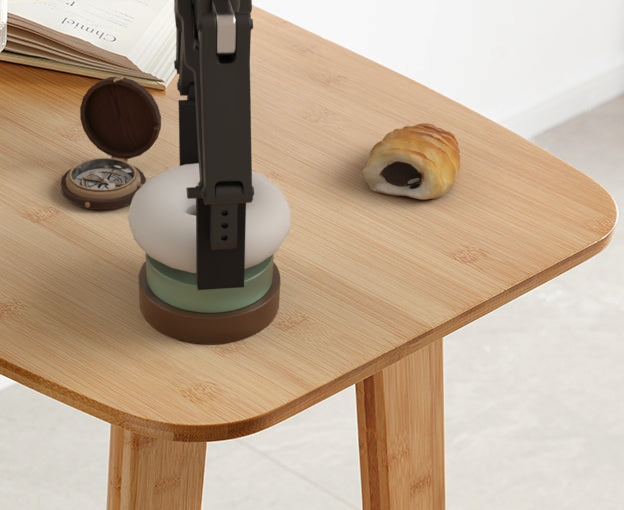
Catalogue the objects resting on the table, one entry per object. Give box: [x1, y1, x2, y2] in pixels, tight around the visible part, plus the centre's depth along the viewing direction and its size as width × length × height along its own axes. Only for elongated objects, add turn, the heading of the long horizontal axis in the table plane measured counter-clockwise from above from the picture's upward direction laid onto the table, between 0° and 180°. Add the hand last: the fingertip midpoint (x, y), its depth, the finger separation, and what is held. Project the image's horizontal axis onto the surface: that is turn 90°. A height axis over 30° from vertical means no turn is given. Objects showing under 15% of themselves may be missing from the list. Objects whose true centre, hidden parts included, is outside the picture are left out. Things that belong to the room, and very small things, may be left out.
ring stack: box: [138, 252, 281, 345], centre depth 72 cm, size 9×9×4 cm
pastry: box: [362, 122, 461, 200], centre depth 87 cm, size 9×7×4 cm
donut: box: [127, 163, 292, 273], centre depth 69 cm, size 10×4×10 cm
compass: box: [60, 75, 162, 211], centre depth 82 cm, size 8×8×7 cm
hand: (210, 236), depth 70 cm, fingers closed on donut, 10 cm apart
